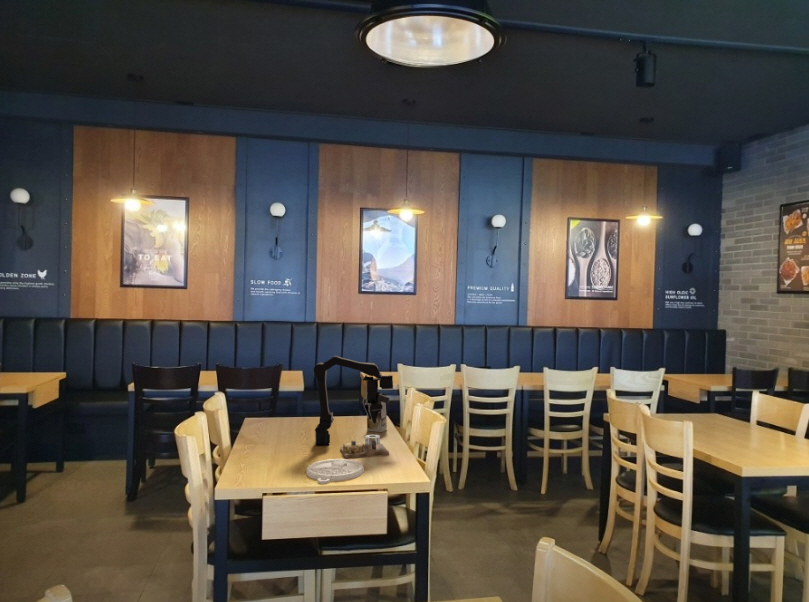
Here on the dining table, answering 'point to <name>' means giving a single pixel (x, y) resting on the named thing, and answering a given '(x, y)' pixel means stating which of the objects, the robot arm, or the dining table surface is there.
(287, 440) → the dining table surface
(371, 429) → the coffee box
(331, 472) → the medallion
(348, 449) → the gear board
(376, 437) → the steel gear
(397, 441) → the dining table surface
